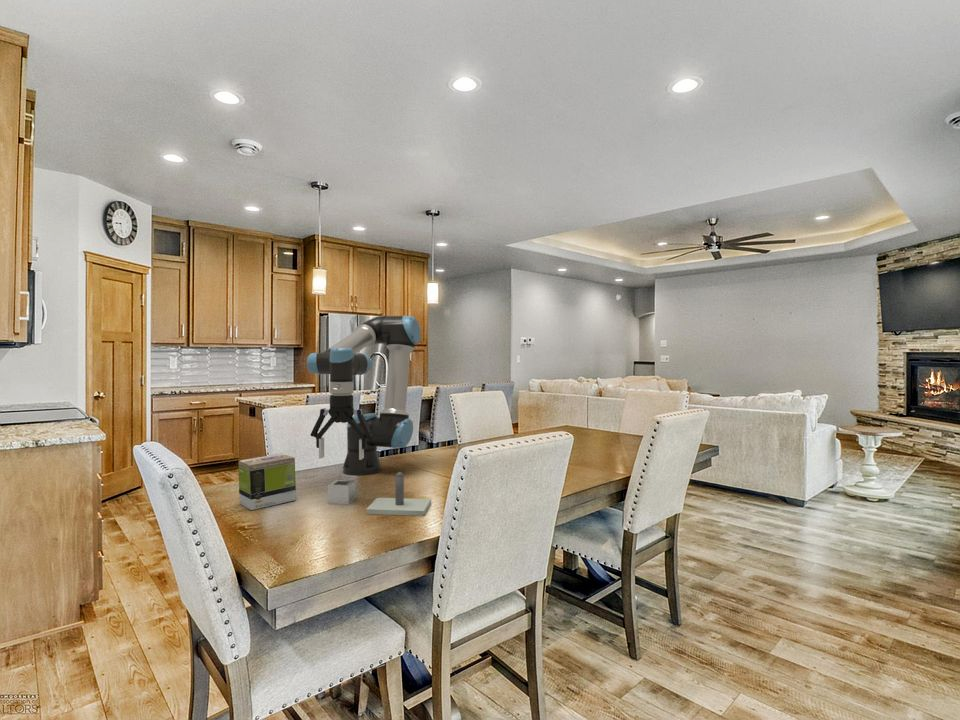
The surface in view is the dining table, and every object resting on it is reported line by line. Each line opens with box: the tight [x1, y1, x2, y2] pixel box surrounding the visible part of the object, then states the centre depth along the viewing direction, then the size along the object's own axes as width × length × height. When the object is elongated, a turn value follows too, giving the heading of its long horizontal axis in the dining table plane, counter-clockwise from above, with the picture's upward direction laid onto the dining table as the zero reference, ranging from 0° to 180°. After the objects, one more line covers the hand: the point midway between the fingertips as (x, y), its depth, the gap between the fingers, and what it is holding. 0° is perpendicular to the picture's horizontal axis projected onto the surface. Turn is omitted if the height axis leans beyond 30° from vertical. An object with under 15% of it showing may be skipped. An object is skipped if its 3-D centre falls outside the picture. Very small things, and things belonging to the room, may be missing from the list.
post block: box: [365, 471, 432, 517], centre depth 165 cm, size 12×18×12 cm, turn 85°
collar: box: [327, 479, 357, 505], centre depth 173 cm, size 7×7×6 cm
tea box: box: [238, 452, 297, 511], centre depth 171 cm, size 15×10×15 cm
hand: (341, 458), depth 173 cm, fingers open, 13 cm apart
